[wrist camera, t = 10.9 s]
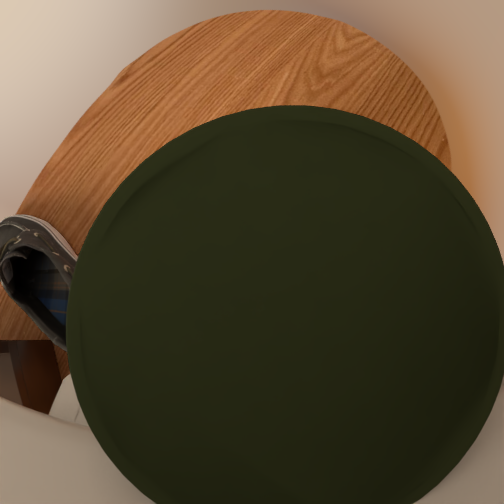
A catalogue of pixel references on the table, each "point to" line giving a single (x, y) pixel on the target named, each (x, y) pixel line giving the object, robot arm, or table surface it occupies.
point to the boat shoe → (37, 272)
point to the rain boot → (287, 315)
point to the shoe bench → (29, 373)
